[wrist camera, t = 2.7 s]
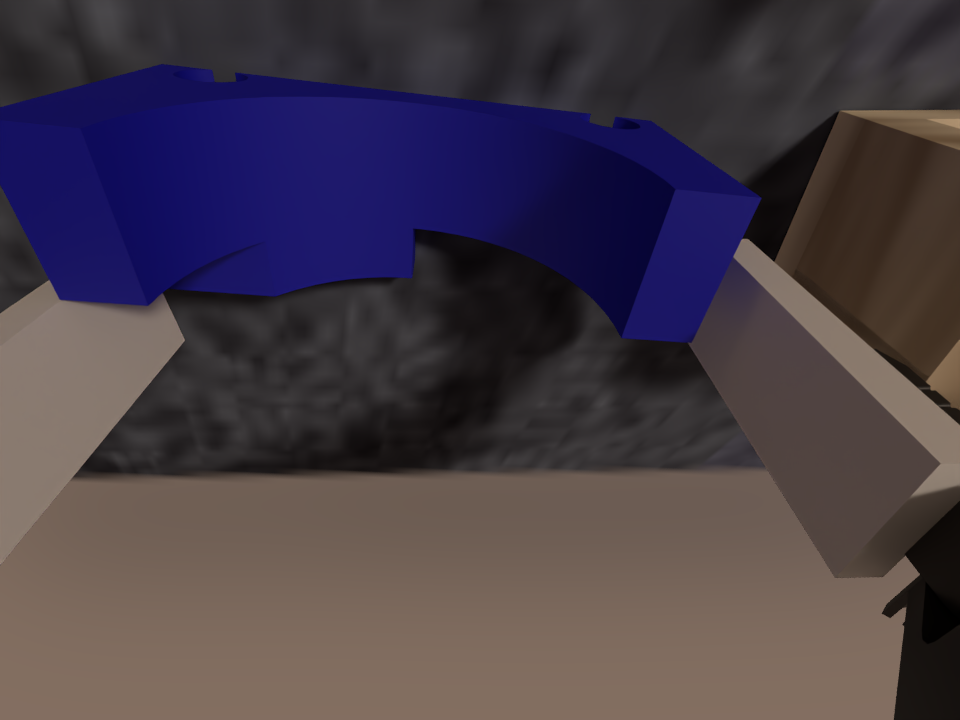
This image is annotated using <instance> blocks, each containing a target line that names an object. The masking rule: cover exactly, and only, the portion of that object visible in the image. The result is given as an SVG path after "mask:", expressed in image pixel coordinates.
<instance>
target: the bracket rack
mask: <svg viewBox="0 0 960 720" xmlns="http://www.w3.org/2000/svg"><path fill="white" fill-rule="evenodd" d="M775 263H776V264H777V265H778V266H779V267H780V268H781V269H783V270H784V271H785V272H786V273H787V274H788V275H789V276H791V277H792V278H793V279H794V280H795V281H796V282H797V283H799V284H800V285H801V286H802V287H803V288H804V289H805V290H807V291H808V292H809V293H810V294H811V295H812V296H813V297H815V298H816V299H817V300H818V301H819V302H820V303H821V304H822V305H824V306H825V307H826V308H827V309H828V310H829V311H830V312H832V313H833V314H834V315H835V316H836V317H837V318H838V319H840V320H841V321H842V322H843V323H844V324H845V325H846V326H848V327H849V328H850V329H851V330H852V331H853V332H854V333H855V334H857V335H858V336H859V337H860V338H861V339H862V340H863V341H865V342H866V343H867V344H868V345H869V346H870V347H871V348H873V349H877V350H879V351H881V352H883V353H884V354H886V355H888V356H890V357H892V358H893V359H895V360H897V361H899V362H901V363H903V364H904V365H906V366H908V367H909V368H910V369H911V370H912V371H914V372H915V373H916V374H917V375H918V376H919V377H921V378H922V379H923V380H924V381H925V382H926V383H928V384H929V385H930V386H931V387H930V389H931V390H936V391H937V392H938V393H939V394H941V395H942V396H943V397H944V398H945V399H946V400H948V401H949V402H950V403H951V405H950V406H951V408H957V409H958V410H960V110H865V111H839V114H838V116H837V118H836V121H835V123H834V125H833V128H832V130H831V132H830V134H829V137H828V139H827V141H826V144H825V146H824V148H823V151H822V153H821V155H820V158H819V160H818V162H817V165H816V167H815V169H814V171H813V174H812V176H811V178H810V181H809V183H808V185H807V188H806V190H805V192H804V195H803V197H802V199H801V201H800V204H799V206H798V208H797V211H796V213H795V215H794V218H793V220H792V222H791V225H790V227H789V229H788V232H787V234H786V236H785V238H784V241H783V243H782V245H781V248H780V250H779V252H778V255H777V257H776V259H775Z"/></svg>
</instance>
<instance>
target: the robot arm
mask: <svg viewBox="0 0 960 720" xmlns="http://www.w3.org/2000/svg"><path fill="white" fill-rule="evenodd" d="M184 341H185V339H184V337H183V335H182V333H181V331H180V329H179V327H178V324H177V322H176V320H175V318H174V316H173V314H172V312H171V310H170V307H169V305H168V303H167V301H166V299H165V297H164V295H163V293H162V294H161V295H159V296H158V297H157V298H156V299H155V300H154V301H153V302H152V303H151V304H150V305H149V306H143V305H128V304H113V303H99V302H84V301H69V300H60V299H59V298H58V296H57V294H56V292H55V290H54V288H53V286H52V284H51V282H50V280H49V281H47V282H46V283H44V284H43V285H41V286H40V287H38V288H37V289H35V290H34V291H33V292H31V293H30V294H28V295H27V296H25V297H24V298H22V299H21V300H19V301H18V302H16V303H15V304H13V305H12V306H10V307H9V308H8V309H6V310H5V311H3V312H2V313H0V565H1V564H2V563H3V561H4V560H5V559H6V558H7V556H8V555H9V554H10V553H11V551H12V550H13V549H14V548H15V547H16V545H17V544H18V543H19V542H20V541H21V539H22V538H23V537H24V536H25V535H26V533H27V532H28V531H29V530H30V528H31V527H32V526H33V525H34V524H35V522H36V521H37V520H38V519H39V517H40V516H41V515H42V514H43V512H44V511H45V510H46V509H47V508H48V507H49V505H50V504H51V503H52V502H53V500H54V499H55V498H56V497H57V496H58V494H59V493H60V492H61V491H62V489H63V488H64V487H65V486H66V485H67V483H68V482H69V481H70V480H71V479H72V477H73V476H74V475H75V474H76V472H77V471H78V470H79V469H80V468H81V466H82V465H83V464H84V463H85V461H86V460H87V459H88V458H89V457H90V455H91V454H92V453H93V452H94V451H95V449H96V448H97V447H98V446H99V444H100V443H101V442H102V441H103V440H104V438H105V437H106V436H107V435H108V433H109V432H110V431H111V430H112V429H113V427H114V426H115V425H116V424H117V423H118V421H119V420H120V419H121V418H122V416H123V415H124V414H125V413H126V412H127V410H128V409H129V408H130V407H131V405H132V404H133V403H134V402H135V401H136V399H137V398H138V397H139V396H140V395H141V393H142V392H143V391H144V390H145V388H146V387H147V386H148V385H149V384H150V382H151V381H152V380H153V379H154V377H155V376H156V375H157V374H158V373H159V371H160V370H161V369H162V368H163V367H164V365H165V364H166V363H167V362H168V360H169V359H170V358H171V357H172V356H173V354H174V353H175V352H176V351H177V349H178V348H179V347H180V346H181V345H182V343H183V342H184ZM688 344H689V346H690V347H691V349H692V350H693V352H694V354H695V355H696V357H697V358H698V360H699V362H700V363H701V365H702V366H703V368H704V370H705V371H706V373H707V374H708V376H709V378H710V379H711V381H712V382H713V384H714V386H715V387H716V389H717V390H718V392H719V394H720V395H721V397H722V398H723V400H724V401H725V403H726V405H727V406H728V408H729V409H730V411H731V413H732V414H733V416H734V417H735V419H736V421H737V422H738V424H739V425H740V427H741V429H742V430H743V432H744V433H745V435H746V437H747V438H748V440H749V441H750V443H751V445H752V446H753V448H754V449H755V451H756V453H757V454H758V456H759V457H760V459H761V461H762V462H763V464H764V465H765V467H766V468H767V470H768V472H769V473H770V475H771V476H772V478H773V480H774V481H775V483H776V484H777V486H778V488H779V489H780V491H781V492H782V494H783V496H784V497H785V499H786V500H787V502H788V504H789V505H790V507H791V508H792V510H793V511H794V513H795V515H796V516H797V518H798V519H799V521H800V523H801V524H802V526H803V527H804V529H805V531H806V532H807V534H808V536H809V537H810V539H811V540H812V542H813V543H814V545H815V547H816V548H817V550H818V551H819V553H820V555H821V556H822V558H823V559H824V561H825V563H826V564H827V566H828V567H829V569H830V571H831V572H832V574H833V575H834V577H835V578H851V577H852V578H855V577H883V576H884V575H886V574H887V573H888V572H889V571H890V570H891V569H892V568H893V567H894V566H895V565H896V564H897V563H898V562H899V561H900V560H901V559H902V558H903V557H904V556H905V555H906V557H907V558H908V559H909V560H910V562H911V563H912V564H913V566H914V567H915V568H916V569H917V571H918V572H919V573H920V575H919V576H918V577H917V578H916V579H915V580H914V581H912V582H911V583H910V584H909V585H908V586H907V587H906V588H904V589H903V590H902V591H901V592H900V593H899V594H898V595H897V596H895V597H894V598H893V599H892V600H891V601H890V602H889V603H888V604H887V605H886V607H885V608H884V611H883V612H882V614H884V615H886V616H887V617H889V618H891V617H892V616H893V615H894V614H896V613H897V612H898V611H899V610H900V609H902V608H904V607H907V608H906V617H905V622H904V623H903V625H904V635H903V643H902V652H901V661H900V670H899V679H898V688H897V696H896V705H895V714H894V720H960V411H959V410H958V409H957V408H951V406H950V405H951V403H950V402H949V401H948V400H946V399H945V398H944V397H943V396H942V395H941V394H939V393H938V392H937V391H936V390H931V389H930V387H931V386H930V385H929V384H928V383H926V382H925V381H924V380H923V379H922V378H921V377H919V376H918V375H917V374H916V373H915V372H914V371H912V370H911V369H910V368H909V367H908V366H906V365H904V364H903V363H901V362H899V361H897V360H895V359H893V358H892V357H890V356H888V355H886V354H884V353H883V352H881V351H879V350H877V349H873V348H871V347H870V346H869V345H868V344H867V343H866V342H865V341H863V340H862V339H861V338H860V337H859V336H858V335H857V334H855V333H854V332H853V331H852V330H851V329H850V328H849V327H848V326H846V325H845V324H844V323H843V322H842V321H841V320H840V319H838V318H837V317H836V316H835V315H834V314H833V313H832V312H830V311H829V310H828V309H827V308H826V307H825V306H824V305H822V304H821V303H820V302H819V301H818V300H817V299H816V298H815V297H813V296H812V295H811V294H810V293H809V292H808V291H807V290H805V289H804V288H803V287H802V286H801V285H800V284H799V283H797V282H796V281H795V280H794V279H793V278H792V277H791V276H789V275H788V274H787V273H786V272H785V271H784V270H783V269H781V268H780V267H779V266H778V265H777V264H776V263H775V262H774V261H772V260H771V259H770V258H769V257H768V256H767V255H766V254H764V253H763V252H762V251H761V250H760V249H759V248H758V247H756V246H755V245H754V244H753V243H752V242H751V241H750V240H748V239H742V240H741V242H740V244H739V246H738V248H737V250H736V252H735V254H734V256H733V259H732V261H731V263H730V265H729V267H728V269H727V271H726V273H725V275H724V277H723V279H722V281H721V283H720V285H719V288H718V290H717V292H716V294H715V296H714V298H713V300H712V302H711V304H710V306H709V308H708V310H707V312H706V314H705V317H704V319H703V321H702V323H701V325H700V327H699V329H698V331H697V333H696V335H695V337H694V339H693V341H692V343H688Z"/></svg>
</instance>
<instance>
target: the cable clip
mask: <svg viewBox="0 0 960 720" xmlns="http://www.w3.org/2000/svg"><path fill="white" fill-rule="evenodd" d="M235 75H236V81H237V82H214V77H213V72H212V70H208V69H199V68H190V67H182V66H173V65H165V64H161V65H157V66H153V67H150V68H146V69H142V70H138V71H135V72H131V73H127V74H123V75H120V76H116V77H112V78H108V79H105V80H101V81H97V82H94V83H90V84H86V85H82V86H79V87H75V88H71V89H67V90H64V91H60V92H56V93H52V94H49V95H45V96H41V97H37V98H34V99H30V100H26V101H23V102H19V103H15V104H11V105H8V106H4V107H0V185H1V187H2V189H3V191H4V193H5V195H6V196H7V198H8V200H9V202H10V204H11V206H12V208H13V210H14V212H15V214H16V216H17V218H18V220H19V222H20V224H21V226H22V228H23V230H24V231H25V233H26V235H27V237H28V239H29V241H30V243H31V245H32V247H33V249H34V251H35V253H36V255H37V257H38V259H39V261H40V263H41V264H42V266H43V268H44V270H45V272H46V274H47V276H48V278H49V280H50V282H51V284H52V286H53V288H54V290H55V292H56V294H57V296H58V298H59V299H60V300H69V301H84V302H99V303H113V304H128V305H143V306H149V305H150V304H151V303H152V302H153V301H154V300H155V299H156V298H157V297H158V296H159V295H161V294H162V293H163V292H164V291H165V290H167V289H178V290H191V291H205V292H219V293H233V294H247V295H261V296H278V295H281V294H284V293H287V292H291V291H294V290H297V289H301V288H305V287H309V286H313V285H317V284H323V283H328V282H333V281H341V280H348V279H358V278H376V277H397V278H412V275H413V268H414V262H415V234H416V229H423V230H431V231H438V232H444V233H450V234H456V235H461V236H465V237H469V238H474V239H478V240H481V241H485V242H488V243H492V244H495V245H498V246H501V247H504V248H507V249H510V250H512V251H515V252H517V253H520V254H522V255H525V256H527V257H529V258H531V259H533V260H536V261H538V262H540V263H542V264H544V265H545V266H547V267H549V268H551V269H553V270H555V271H556V272H558V273H559V274H561V275H563V276H564V277H566V278H567V279H569V280H570V281H571V282H573V283H574V284H575V285H577V286H578V287H579V288H581V289H582V290H583V291H584V292H585V293H586V294H588V295H589V296H590V297H591V298H592V299H593V300H594V301H595V302H596V303H597V304H598V305H599V306H600V307H601V308H602V310H603V311H604V312H605V313H606V314H607V316H608V317H609V319H610V320H611V321H612V323H613V324H614V326H615V327H616V329H617V331H618V333H619V335H620V336H621V338H627V339H641V340H656V341H671V342H685V343H692V341H693V339H694V337H695V335H696V333H697V331H698V329H699V327H700V325H701V323H702V321H703V319H704V317H705V314H706V312H707V310H708V308H709V306H710V304H711V302H712V300H713V298H714V296H715V294H716V292H717V290H718V288H719V285H720V283H721V281H722V279H723V277H724V275H725V273H726V271H727V269H728V267H729V265H730V263H731V261H732V259H733V256H734V254H735V252H736V250H737V248H738V246H739V244H740V242H741V240H742V238H743V236H744V234H745V232H746V230H747V227H748V225H749V223H750V221H751V219H752V217H753V215H754V213H755V211H756V209H757V207H758V205H759V203H760V201H761V197H760V196H758V195H757V194H755V193H754V192H752V191H751V190H750V189H748V188H747V187H745V186H744V185H742V184H741V183H739V182H738V181H737V180H735V179H734V178H732V177H731V176H729V175H728V174H727V173H725V172H724V171H722V170H721V169H719V168H718V167H716V166H715V165H714V164H712V163H711V162H709V161H708V160H706V159H705V158H704V157H702V156H701V155H699V154H698V153H696V152H695V151H693V150H692V149H691V148H689V147H688V146H686V145H685V144H683V143H682V142H680V141H679V140H678V139H676V138H675V137H673V136H672V135H670V134H669V133H668V132H666V131H665V130H663V129H662V128H660V127H659V126H657V125H656V124H655V123H653V122H652V121H647V120H638V119H630V118H621V117H615V120H614V124H613V128H610V127H605V126H600V125H596V124H593V123H589V119H590V115H591V114H587V113H578V112H569V111H561V110H552V109H543V108H535V107H526V106H518V105H509V104H500V103H492V102H483V101H475V100H466V99H457V98H449V97H440V96H432V95H423V94H414V93H406V92H397V91H388V90H380V89H371V88H363V87H354V86H345V85H337V84H328V83H320V82H311V81H302V80H294V79H285V78H277V77H268V76H259V75H251V74H242V73H235Z"/></svg>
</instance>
